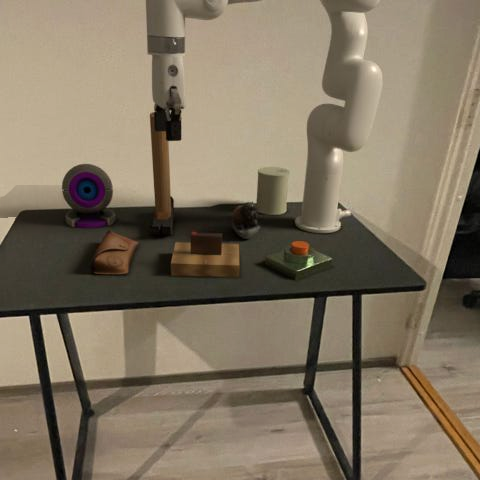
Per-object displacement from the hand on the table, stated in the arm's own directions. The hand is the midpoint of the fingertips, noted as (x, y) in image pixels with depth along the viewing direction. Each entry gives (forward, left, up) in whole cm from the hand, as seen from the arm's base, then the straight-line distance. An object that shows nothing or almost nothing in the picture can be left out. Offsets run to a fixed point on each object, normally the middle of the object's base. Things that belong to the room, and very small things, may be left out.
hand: (167, 135), depth 115 cm
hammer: (-4, -17, -27) cm, 32 cm away
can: (-38, -19, -27) cm, 51 cm away
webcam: (+13, -28, -27) cm, 41 cm away
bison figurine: (-22, -4, -27) cm, 35 cm away
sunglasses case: (+13, -1, -27) cm, 30 cm away
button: (-25, +18, -23) cm, 39 cm away
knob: (-5, +10, -24) cm, 27 cm away
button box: (-25, +18, -27) cm, 41 cm away
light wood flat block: (-5, +10, -27) cm, 29 cm away
